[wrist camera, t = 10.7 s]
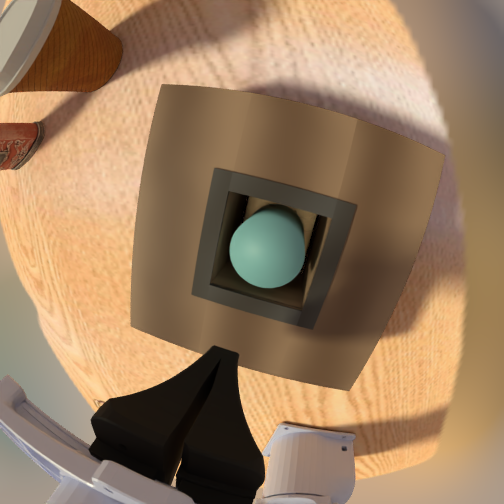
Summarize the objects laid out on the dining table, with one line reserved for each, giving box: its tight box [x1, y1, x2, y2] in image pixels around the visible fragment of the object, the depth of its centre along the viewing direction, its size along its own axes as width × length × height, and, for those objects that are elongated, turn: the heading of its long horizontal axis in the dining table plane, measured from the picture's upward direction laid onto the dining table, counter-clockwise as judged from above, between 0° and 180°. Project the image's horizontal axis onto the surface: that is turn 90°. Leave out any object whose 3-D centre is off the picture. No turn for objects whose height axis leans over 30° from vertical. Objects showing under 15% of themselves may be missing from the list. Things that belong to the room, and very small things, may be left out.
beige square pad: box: [243, 196, 317, 273], centre depth 19 cm, size 5×5×1 cm
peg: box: [230, 204, 305, 288], centre depth 17 cm, size 4×4×5 cm
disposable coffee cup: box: [0, 0, 123, 96], centre depth 12 cm, size 10×10×12 cm
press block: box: [131, 84, 445, 391], centre depth 17 cm, size 16×16×6 cm
